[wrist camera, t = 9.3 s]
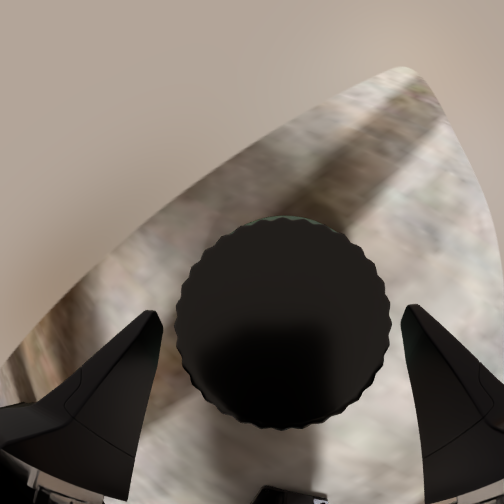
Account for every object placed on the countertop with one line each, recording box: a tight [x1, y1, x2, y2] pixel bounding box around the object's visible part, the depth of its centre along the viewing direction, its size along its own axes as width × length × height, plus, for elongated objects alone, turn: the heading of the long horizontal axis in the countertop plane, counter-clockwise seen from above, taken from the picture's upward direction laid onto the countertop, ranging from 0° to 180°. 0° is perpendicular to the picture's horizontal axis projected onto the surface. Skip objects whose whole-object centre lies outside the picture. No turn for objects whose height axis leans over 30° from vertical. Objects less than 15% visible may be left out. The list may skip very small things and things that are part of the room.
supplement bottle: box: [174, 217, 392, 431], centre depth 11 cm, size 7×7×12 cm
